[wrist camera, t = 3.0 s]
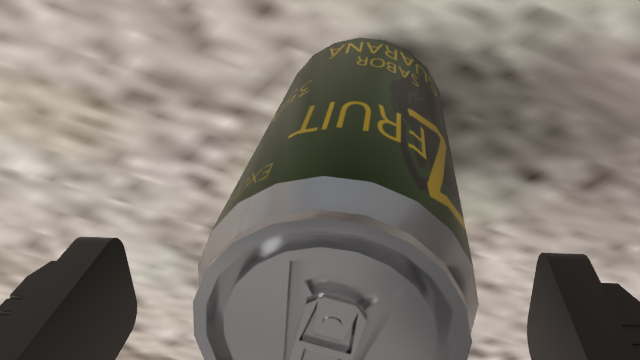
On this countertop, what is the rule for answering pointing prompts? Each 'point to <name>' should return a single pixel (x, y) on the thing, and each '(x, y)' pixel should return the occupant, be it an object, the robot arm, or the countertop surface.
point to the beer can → (343, 224)
